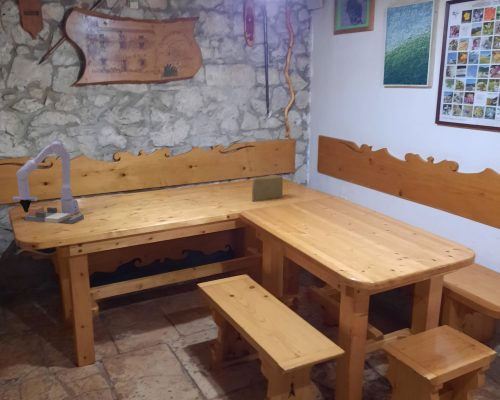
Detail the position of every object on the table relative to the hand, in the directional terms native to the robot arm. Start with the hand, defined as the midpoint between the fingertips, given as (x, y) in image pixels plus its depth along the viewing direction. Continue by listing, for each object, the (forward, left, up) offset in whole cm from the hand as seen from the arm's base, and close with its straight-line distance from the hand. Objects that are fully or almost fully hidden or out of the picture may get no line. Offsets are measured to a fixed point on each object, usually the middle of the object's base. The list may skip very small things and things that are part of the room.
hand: (26, 212), depth 299 cm
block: (-7, 0, -1) cm, 7 cm away
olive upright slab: (-127, -76, -4) cm, 148 cm away
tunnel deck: (-18, 0, -3) cm, 19 cm away
